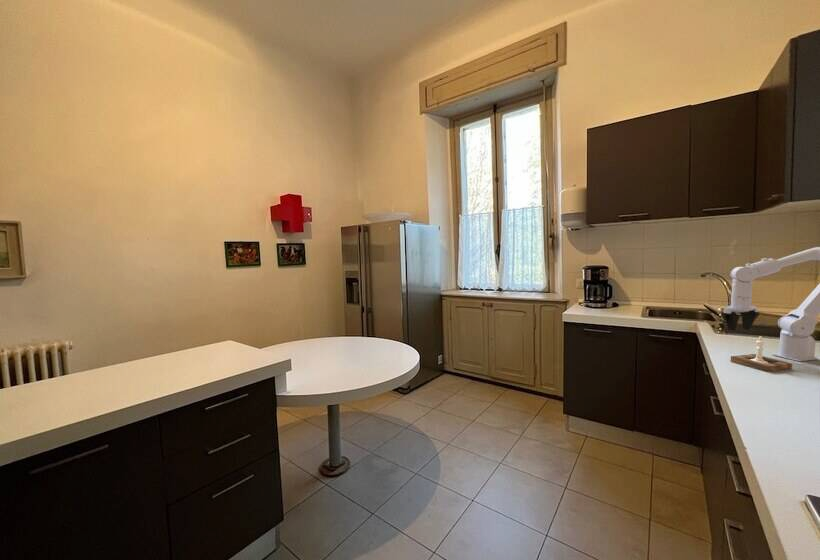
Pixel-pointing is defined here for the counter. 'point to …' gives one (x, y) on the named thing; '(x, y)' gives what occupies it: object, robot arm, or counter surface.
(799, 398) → the counter surface
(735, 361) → the socket board
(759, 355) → the chess piece
